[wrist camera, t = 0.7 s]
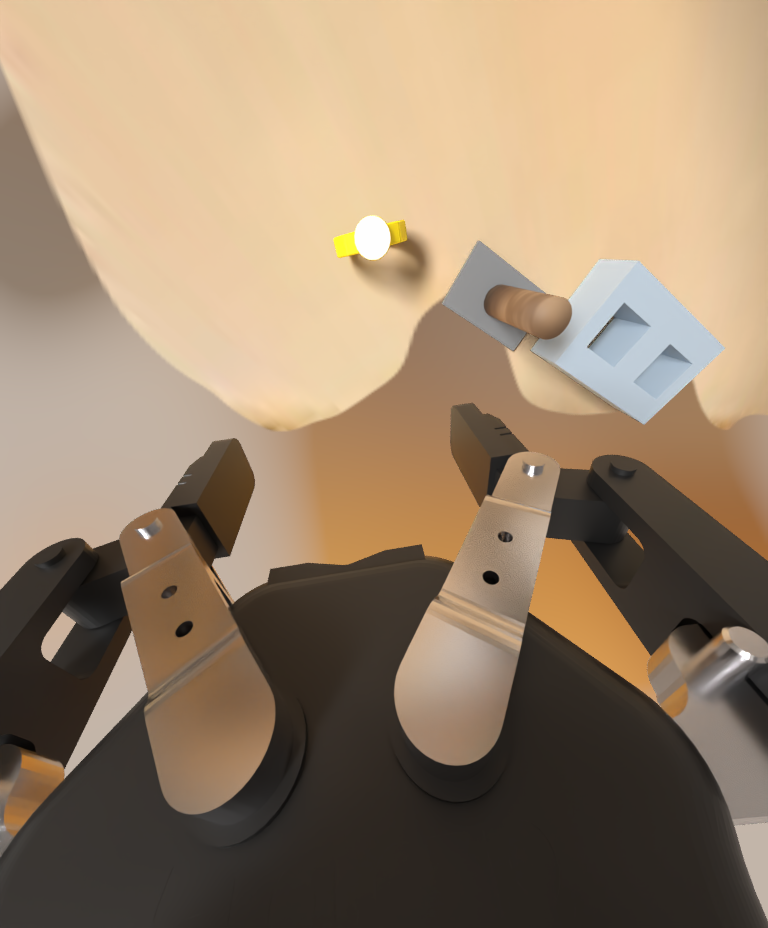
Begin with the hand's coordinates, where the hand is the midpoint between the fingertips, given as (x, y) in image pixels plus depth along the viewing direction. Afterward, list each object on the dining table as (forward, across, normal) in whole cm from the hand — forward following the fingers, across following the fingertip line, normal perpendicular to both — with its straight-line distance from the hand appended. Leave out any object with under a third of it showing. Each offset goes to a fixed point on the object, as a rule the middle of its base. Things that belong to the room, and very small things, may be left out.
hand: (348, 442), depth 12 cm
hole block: (+24, -30, +7) cm, 39 cm away
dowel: (+24, -16, 0) cm, 29 cm away
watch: (+25, -3, -6) cm, 26 cm away
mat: (+24, -16, 0) cm, 29 cm away
